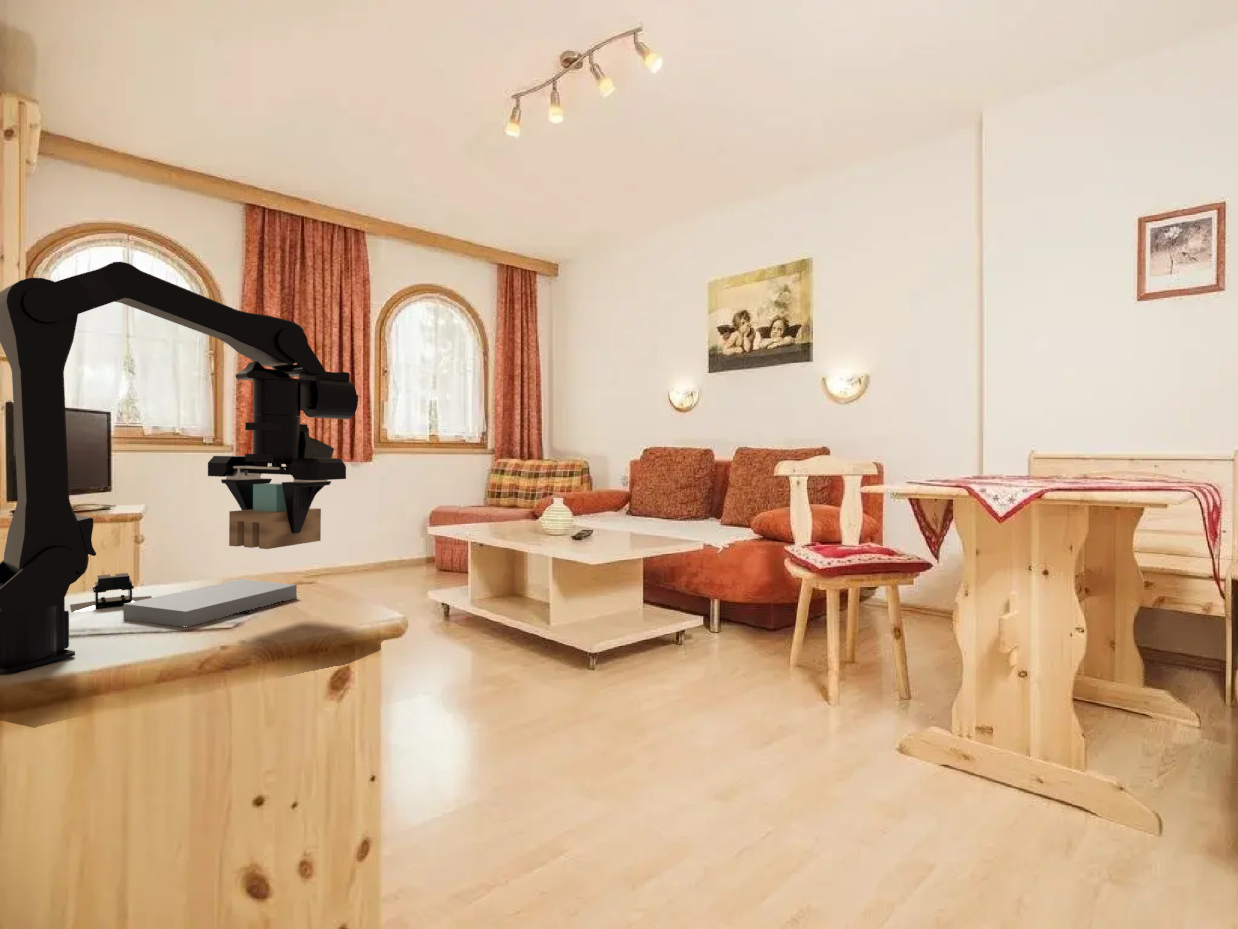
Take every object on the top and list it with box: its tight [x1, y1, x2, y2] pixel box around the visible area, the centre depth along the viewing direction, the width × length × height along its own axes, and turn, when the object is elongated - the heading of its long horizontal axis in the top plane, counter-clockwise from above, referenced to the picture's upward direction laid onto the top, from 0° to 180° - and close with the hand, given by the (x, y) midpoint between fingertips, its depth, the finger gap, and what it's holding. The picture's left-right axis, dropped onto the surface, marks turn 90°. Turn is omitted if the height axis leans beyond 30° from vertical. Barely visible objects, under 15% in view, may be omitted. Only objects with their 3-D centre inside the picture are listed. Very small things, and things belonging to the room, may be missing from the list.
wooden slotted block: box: [228, 507, 322, 550], centre depth 92 cm, size 9×6×4 cm
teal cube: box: [253, 482, 287, 512], centre depth 92 cm, size 4×4×4 cm
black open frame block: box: [69, 572, 153, 613], centre depth 97 cm, size 12×7×5 cm, turn 130°
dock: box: [122, 578, 298, 628], centre depth 96 cm, size 18×11×2 cm, turn 161°
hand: (276, 531), depth 92 cm, fingers closed on wooden slotted block, 6 cm apart
